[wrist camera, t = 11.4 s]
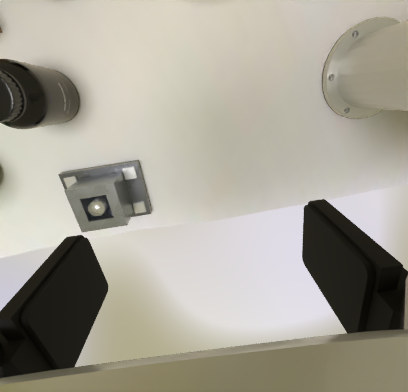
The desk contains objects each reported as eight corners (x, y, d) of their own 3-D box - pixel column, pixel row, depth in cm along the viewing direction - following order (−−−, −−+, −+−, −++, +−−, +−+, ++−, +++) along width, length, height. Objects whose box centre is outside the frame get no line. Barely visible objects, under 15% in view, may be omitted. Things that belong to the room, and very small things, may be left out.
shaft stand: (138, 160, 36) (129, 172, 30) (151, 210, 40) (146, 229, 34) (62, 172, 36) (39, 186, 30) (82, 221, 39) (65, 242, 34)
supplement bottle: (91, 103, 32) (43, 107, 21) (56, 132, 33) (-6, 149, 22) (51, 56, 30) (-26, 33, 19) (15, 89, 31) (-77, 85, 20)
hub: (122, 171, 35) (113, 182, 31) (134, 209, 38) (127, 224, 33) (80, 178, 35) (64, 190, 31) (94, 215, 38) (82, 232, 33)
